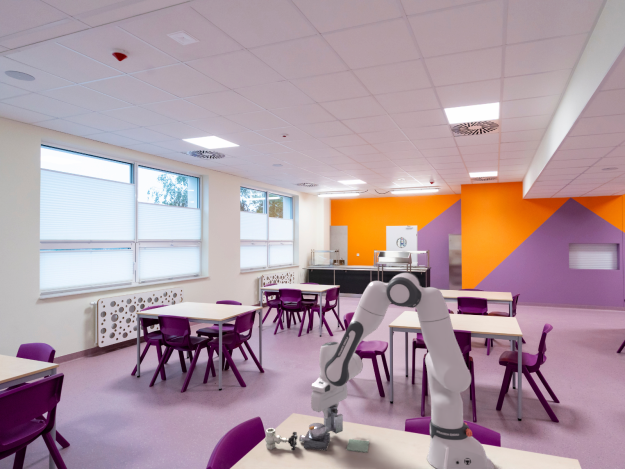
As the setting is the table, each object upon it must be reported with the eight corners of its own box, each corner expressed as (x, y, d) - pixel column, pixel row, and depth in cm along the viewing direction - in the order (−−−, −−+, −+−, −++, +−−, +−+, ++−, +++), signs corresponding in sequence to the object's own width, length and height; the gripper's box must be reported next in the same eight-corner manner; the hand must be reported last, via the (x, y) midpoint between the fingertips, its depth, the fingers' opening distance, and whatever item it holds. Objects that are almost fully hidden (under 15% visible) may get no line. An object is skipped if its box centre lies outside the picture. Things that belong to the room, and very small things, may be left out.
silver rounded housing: (330, 424, 165) (330, 408, 165) (342, 431, 159) (342, 414, 159) (304, 434, 156) (304, 417, 157) (316, 442, 150) (315, 424, 151)
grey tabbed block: (329, 422, 165) (328, 402, 165) (339, 427, 160) (339, 407, 160) (323, 424, 163) (322, 405, 163) (333, 429, 158) (333, 409, 158)
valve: (262, 451, 151) (293, 454, 148) (262, 433, 151) (293, 436, 149) (268, 442, 157) (297, 445, 155) (268, 425, 157) (297, 428, 155)
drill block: (330, 440, 159) (330, 432, 159) (326, 450, 151) (326, 442, 151) (302, 437, 161) (302, 430, 161) (297, 447, 153) (297, 439, 153)
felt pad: (369, 442, 157) (369, 441, 157) (367, 452, 149) (367, 451, 149) (349, 440, 159) (349, 439, 159) (346, 450, 151) (346, 449, 151)
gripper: (339, 373, 172) (339, 405, 172) (308, 386, 157) (308, 421, 156) (350, 376, 168) (351, 409, 168) (320, 390, 153) (320, 426, 152)
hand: (330, 415), depth 162 cm, fingers closed on grey tabbed block, 4 cm apart
